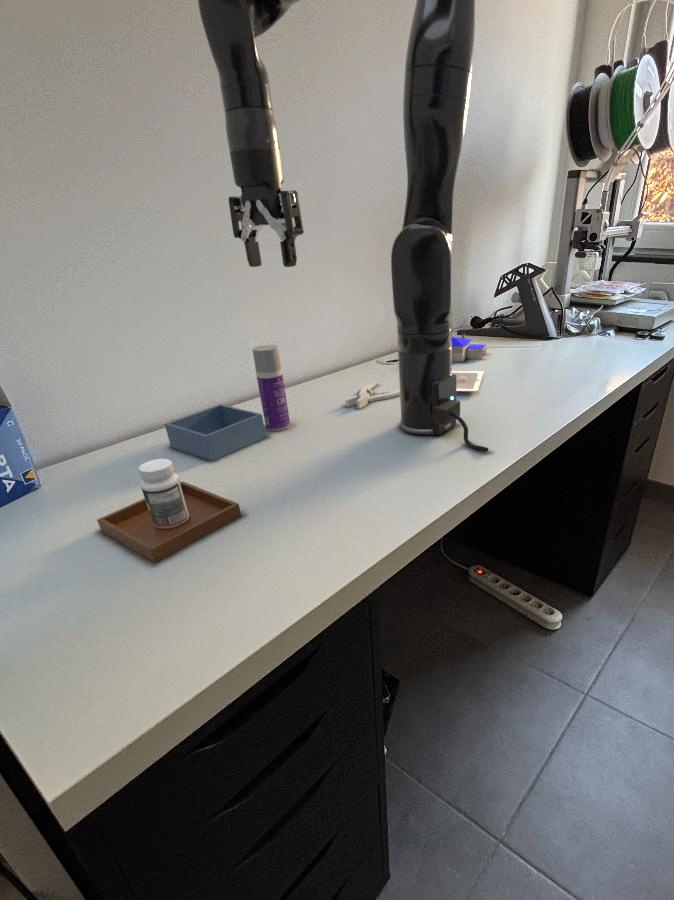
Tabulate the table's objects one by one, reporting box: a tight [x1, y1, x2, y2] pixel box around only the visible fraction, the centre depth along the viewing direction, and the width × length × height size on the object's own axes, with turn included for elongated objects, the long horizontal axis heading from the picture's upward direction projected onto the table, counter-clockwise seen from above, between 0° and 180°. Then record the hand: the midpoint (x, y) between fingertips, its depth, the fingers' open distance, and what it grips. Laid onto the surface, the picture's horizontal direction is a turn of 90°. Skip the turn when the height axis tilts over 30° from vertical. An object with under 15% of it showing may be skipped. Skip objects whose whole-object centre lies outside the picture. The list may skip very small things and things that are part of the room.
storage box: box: [164, 403, 267, 462], centre depth 96 cm, size 12×12×4 cm
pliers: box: [345, 381, 400, 410], centre depth 114 cm, size 10×2×15 cm
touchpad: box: [452, 370, 484, 392], centre depth 118 cm, size 8×15×2 cm, turn 166°
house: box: [452, 333, 488, 363], centre depth 137 cm, size 11×14×6 cm
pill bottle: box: [138, 458, 189, 529], centre depth 70 cm, size 5×5×8 cm
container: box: [252, 344, 291, 432], centre depth 98 cm, size 5×5×15 cm
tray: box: [96, 480, 242, 563], centre depth 71 cm, size 13×13×2 cm
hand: (272, 266), depth 88 cm, fingers open, 8 cm apart
